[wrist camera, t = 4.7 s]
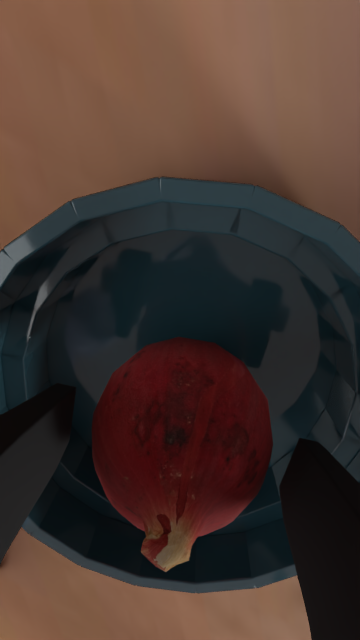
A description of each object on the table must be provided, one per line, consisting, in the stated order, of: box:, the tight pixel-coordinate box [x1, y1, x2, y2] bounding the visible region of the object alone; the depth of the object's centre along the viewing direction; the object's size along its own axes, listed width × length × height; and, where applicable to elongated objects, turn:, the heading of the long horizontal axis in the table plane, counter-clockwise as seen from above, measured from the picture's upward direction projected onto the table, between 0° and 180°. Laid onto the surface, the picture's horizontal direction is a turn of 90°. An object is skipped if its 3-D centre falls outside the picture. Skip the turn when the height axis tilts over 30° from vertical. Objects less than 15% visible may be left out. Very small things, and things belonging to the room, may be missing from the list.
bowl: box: [0, 177, 360, 593], centre depth 13 cm, size 15×15×4 cm
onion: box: [92, 337, 273, 572], centre depth 11 cm, size 6×6×8 cm
